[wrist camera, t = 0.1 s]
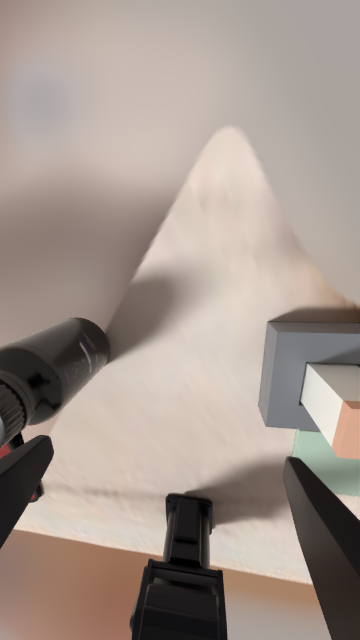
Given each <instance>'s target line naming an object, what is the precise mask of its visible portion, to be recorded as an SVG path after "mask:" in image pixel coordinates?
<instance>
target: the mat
mask: <svg viewBox="0 0 360 640" xmlns="http://www.w3.org/2000/svg"><path fill="white" fill-rule="evenodd" d="M292 457H298V458H300V459H301V460H302V461H303V462H304V463H305V464H306V465H307V466H308V467H309V468H310V469H311V470H312V471H313V472H314V473H315V474H316V475H317V476H318V478H319V479H320V480H321V481H322V482H323V483H324V484H325V485H326V486H327V487H328V488H329V489H330V490H331V491H332V492H333V493H334V494H341V495H351V496H360V459H350V458H338V456H337V455H336V453H335V452H334V450H333V449H332V447H331V446H330V444H329V443H328V441H327V440H326V438H325V437H324V435H323V434H322V432H321V431H318V430H304V429H297V431H296V436H295V442H294V448H293V453H292Z"/></svg>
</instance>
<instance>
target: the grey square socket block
mask: <svg viewBox="0 0 360 640" xmlns="http://www.w3.org/2000/svg"><path fill="white" fill-rule="evenodd" d="M306 362H323V363H350V364H356V365H357V366H358V367H360V323H312V322H267V330H266V339H265V349H264V358H263V367H262V377H261V386H260V395H259V404H258V406H259V409H260V412H261V415H262V418H263V421H264V423H265V426H266V427H277V428H291V429H304V430H318V431H320V429H319V428H318V426H317V425H316V423H315V422H314V420H313V419H312V417H311V416H310V414H309V413H308V411H307V410H306V408H305V407H304V405H303V404H302V402H301V401H300V394H301V388H302V382H303V377H304V371H305V365H306Z"/></svg>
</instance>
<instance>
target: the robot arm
mask: <svg viewBox="0 0 360 640" xmlns="http://www.w3.org/2000/svg"><path fill="white" fill-rule="evenodd" d="M53 455H54V449H53V445H52V441H51V438H50V437H49V436H45V435H39V436H37V437H35V438H33V439H31V440H30V441H28V442H26V443H25V444H23V445H21V446H20V447H18V448H16V449H15V450H13V451H11V452H10V453H8V454H7V455H5V456H3V457H2V458H0V549H1V547H2V546H3V544H4V542H5V541H6V539H7V538H8V536H9V534H10V533H11V531H12V529H13V528H14V526H15V525H16V523H17V521H18V520H19V518H20V517H21V515H22V513H23V512H24V510H25V508H26V507H27V505H28V503H29V502H30V500H31V498H32V496H33V494H34V492H35V491H36V489H37V487H38V485H39V483H40V481H41V479H42V477H43V475H44V473H45V471H46V470H47V468H48V466H49V464H50V462H51V460H52V458H53ZM283 479H284V484H285V488H286V492H287V496H288V500H289V504H290V508H291V512H292V516H293V520H294V524H295V528H296V532H297V536H298V540H299V543H300V546H301V549H302V552H303V555H304V558H305V561H306V564H307V567H308V570H309V573H310V576H311V579H312V582H313V585H314V588H315V591H316V594H317V597H318V600H319V603H320V606H321V609H322V612H323V615H324V618H325V621H326V624H327V626H328V630H329V633H330V636H331V639H332V640H360V520H359V519H358V518H357V517H356V516H355V515H354V514H353V513H352V512H351V511H350V510H349V509H348V508H347V507H346V506H345V505H344V504H343V503H342V502H341V500H340V499H339V498H338V497H337V496H336V495H335V494H334V493H333V492H332V491H331V490H330V489H329V488H328V487H327V486H326V485H325V484H324V483H323V482H322V481H321V480H320V479H319V478H318V476H317V475H316V474H315V473H314V472H313V471H312V470H311V469H310V468H309V467H308V466H307V465H306V464H305V463H304V462H303V461H302V460H301V459H300V458H298V457H289V456H288V457H286V460H285V466H284V472H283ZM212 507H213V506H212V501H210V500H202V499H194V498H185V497H177V496H167V497H166V518H167V531H166V539H165V546H164V553H163V560H162V562H161V561H155V560H154V559H149V561H148V566H146V567H144V572H143V577H142V582H141V587H140V590H139V593H138V597H137V600H136V603H135V606H134V609H133V612H132V615H131V619H130V629H131V632H132V640H227V623H226V610H225V597H224V585H223V572H222V570H219V569H218V570H211V569H210V546H209V535H211V533H212Z"/></svg>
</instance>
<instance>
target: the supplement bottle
mask: <svg viewBox="0 0 360 640" xmlns="http://www.w3.org/2000/svg"><path fill="white" fill-rule="evenodd" d="M109 353H110V347H109V342H108V339H107V337H106V335H105V333H104V332H103V331H102V330H101V329H100V327H98V326H97V325H96V324H95V323H93V322H91V321H89V320H87V319H83V318H70V319H66V320H63V321H61V322H58V323H56V324H54V325H51V326H49V327H46V328H44V329H42V330H39V331H37V332H35V333H32V334H30V335H27V336H25V337H22V338H20V339H18V340H15V341H13V342H10V343H8V344H6V345H3V346H1V347H0V448H2V447H3V446H4V445H5V444H6V443H8V442H9V441H10V440H11V439H12V438H13V437H14V436H15V435H16V434H18V433H20V432H21V431H22V430H23V429H24V428H25V427H26V426H27V425H36V424H40V423H43V422H46V421H48V420H50V419H52V418H53V417H54V416H56V415H57V414H58V413H59V412H60V411H61V410H62V409H63V408H64V407H65V406H66V405H67V404H68V403H69V402H70V401H71V400H72V399H73V398H74V397H75V396H76V395H77V394H78V392H79V391H80V390H81V389H82V388H83V387H84V386H85V385H86V384H87V383H88V382H89V381H90V380H91V379H92V378H93V377H94V376H95V375H96V374H97V373H98V372H99V371H100V370H101V369H102V367H103V366H104V365H105V364H106V362H107V360H108V358H109Z"/></svg>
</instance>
